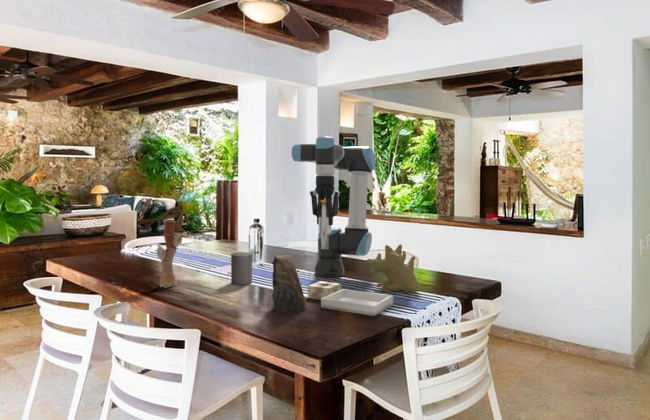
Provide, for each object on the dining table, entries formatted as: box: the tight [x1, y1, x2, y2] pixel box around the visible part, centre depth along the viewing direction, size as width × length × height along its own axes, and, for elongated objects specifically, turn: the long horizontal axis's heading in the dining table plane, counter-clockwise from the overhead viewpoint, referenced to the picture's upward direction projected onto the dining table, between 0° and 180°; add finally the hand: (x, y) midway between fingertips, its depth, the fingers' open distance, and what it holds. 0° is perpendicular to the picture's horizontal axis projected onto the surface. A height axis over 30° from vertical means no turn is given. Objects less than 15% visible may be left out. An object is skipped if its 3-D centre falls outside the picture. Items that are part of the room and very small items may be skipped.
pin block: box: [307, 280, 342, 301], centre depth 200 cm, size 10×10×5 cm
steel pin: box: [320, 199, 329, 249], centre depth 198 cm, size 4×4×20 cm
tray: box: [320, 288, 394, 317], centre depth 186 cm, size 22×18×4 cm
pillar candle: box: [230, 250, 253, 286], centre depth 225 cm, size 10×10×15 cm
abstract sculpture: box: [156, 219, 183, 289], centre depth 217 cm, size 10×7×30 cm
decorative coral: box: [366, 243, 419, 293], centre depth 212 cm, size 26×22×25 cm
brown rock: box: [271, 253, 307, 314], centre depth 183 cm, size 13×13×20 cm
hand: (324, 232), depth 198 cm, fingers closed on steel pin, 3 cm apart
